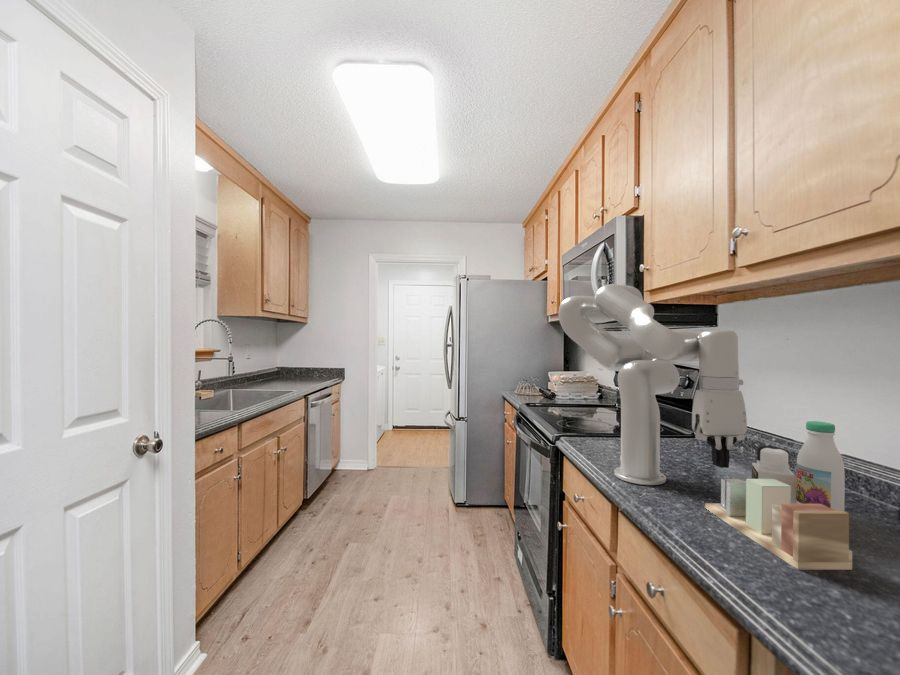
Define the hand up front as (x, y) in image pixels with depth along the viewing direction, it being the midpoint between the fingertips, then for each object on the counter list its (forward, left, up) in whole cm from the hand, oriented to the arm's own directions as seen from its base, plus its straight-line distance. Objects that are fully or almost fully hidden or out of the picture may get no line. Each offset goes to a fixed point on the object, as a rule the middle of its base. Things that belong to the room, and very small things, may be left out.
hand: (720, 465), depth 93 cm
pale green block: (+14, 0, -8) cm, 16 cm away
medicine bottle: (-4, +15, -9) cm, 18 cm away
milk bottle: (+6, +17, -9) cm, 21 cm away
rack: (+14, 0, -9) cm, 16 cm away
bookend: (+6, 0, -8) cm, 10 cm away
